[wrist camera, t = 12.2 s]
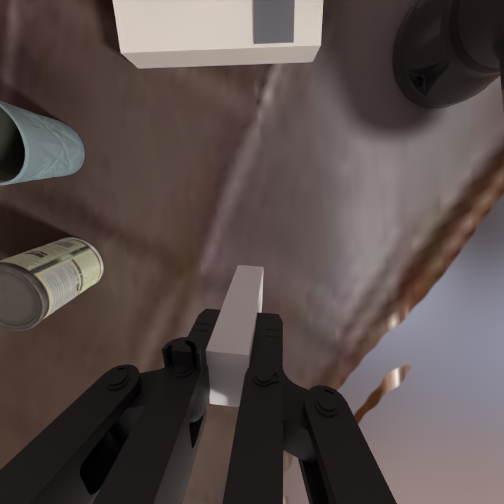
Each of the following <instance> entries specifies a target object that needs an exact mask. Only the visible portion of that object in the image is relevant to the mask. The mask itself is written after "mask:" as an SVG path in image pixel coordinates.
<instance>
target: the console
mask: <svg viewBox="0 0 504 504" xmlns="http://www.w3.org/2000/svg"><path fill="white" fill-rule="evenodd" d="M113 6H114V13H115V19H116V26H117V32H118V39H119V45H120V51H121V54H122V55H124V56H125V57H126V58H127V59H128V60H129V61H130V62H132V63H133V64H134V65H135V66H136V67H137V68H165V67H193V66H220V65H248V64H275V63H302V62H313V60H314V58H315V56H316V54H317V52H318V50H319V48H320V46H321V34H322V15H323V0H113Z"/></svg>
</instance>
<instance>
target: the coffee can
mask: <svg viewBox="0 0 504 504" xmlns="http://www.w3.org/2000/svg"><path fill="white" fill-rule="evenodd" d="M102 274H103V262H102V259H101V256H100V255H99V253H98V251H97V250H96V249H95V248H94V247H93V246H92V245H91V244H89V243H88V242H86V241H84V240H81V239H79V238H73V237H68V238H63V239H60V240H58V241H55V242H52V243H49V244H47V245H44V246H41V247H38V248H35V249H32V250H29V251H26V252H23V253H21V254H17V255H15V256H12V257H9V258H6V259H3V260H1V261H0V327H1V328H5V329H8V330H15V331H20V330H27V329H30V328H32V327H34V326H36V325H37V324H38V323H40V322H41V321H42V320H43V319H44V318H45V317H47V316H48V315H50V314H51V313H53V312H54V311H56V310H57V309H59V308H60V307H61V306H63V305H64V304H66V303H67V302H69V301H70V300H72V299H73V298H75V297H76V296H77V295H79V294H80V293H82V292H83V291H85V290H86V289H87V288H89V287H90V286H92V285H94V284H95V283H97V282H98V281H99V280H100V278H101V277H102Z"/></svg>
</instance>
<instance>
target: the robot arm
mask: <svg viewBox="0 0 504 504" xmlns="http://www.w3.org/2000/svg"><path fill="white" fill-rule="evenodd" d="M393 68H394V74H395V78H396V81H397V83H398V85H399V87H400V89H401V90H402V92H403V93H404V94H405V95H406V97H407V98H409V99H410V100H411V101H412V102H414V103H416V104H418V105H420V106H423V107H427V108H443V107H447V106H451V105H454V104H457V103H459V102H462V101H465V100H467V99H469V98H471V97H473V96H475V95H476V94H478V93H479V92H481V91H482V90H483V89H485V88H486V87H487V86H488V85H489V84H490V83H492V82H493V81H494V80H495V79H497V78H498V77H499V76H501V87H502V88H501V89H502V99H503V110H504V0H418V1H417V2H416V3H415V4H414V6H413V7H412V8H411V9H410V11H409V12H408V14H407V15H406V17H405V19H404V20H403V22H402V24H401V26H400V29H399V31H398V34H397V37H396V40H395V45H394V51H393ZM262 292H263V267H257V266H242V265H238V267H237V269H236V272H235V274H234V277H233V280H232V282H231V285H230V288H229V290H228V293H227V296H226V298H225V301H224V304H223V306H222V309H221V310H215V309H205V310H204V311H203V312H202V313H200V314H199V315H198V317H197V319H196V321H195V324H194V325H193V327H192V329H191V331H190V333H189V335H188V337H182V338H177V339H174V340H172V341H170V342H169V343H167V344H166V345H165V346H164V347H163V349H162V353H163V358H164V364H165V367H164V368H162V369H159V370H155V371H150V372H144V373H139V370H138V368H136V367H135V366H133V365H127V364H126V365H120V366H117V367H115V368H112V369H110V370H109V371H108V372H106V373H105V374H104V375H102V376H101V377H100V378H99V379H98V380H97V381H96V382H95V383H94V384H93V385H92V386H91V387H89V388H88V389H87V390H86V391H85V392H84V393H83V394H82V395H81V396H80V397H79V398H78V399H77V400H75V401H74V402H73V403H72V404H71V405H70V406H69V407H68V408H67V409H66V410H65V411H64V412H62V413H61V414H60V415H59V416H58V417H57V418H56V419H55V420H54V421H53V422H52V423H51V424H50V425H48V426H47V427H46V428H45V429H44V430H43V431H42V432H41V433H40V434H39V435H38V436H37V437H35V438H34V439H33V440H32V441H31V442H30V443H29V444H28V445H27V446H26V447H25V448H24V449H23V450H21V451H20V452H19V453H18V454H17V455H16V456H15V457H14V458H13V459H12V460H11V461H10V462H8V463H7V464H6V465H5V466H4V467H3V468H2V469H1V470H0V504H182V503H183V499H184V496H185V492H186V488H187V485H188V481H189V478H190V474H191V471H192V467H193V463H194V460H195V456H196V453H197V449H198V446H199V442H200V438H201V435H202V431H203V428H204V424H205V421H206V405H207V402H208V399H209V397H210V404H217V405H225V406H233V407H239V411H238V417H237V423H236V429H235V434H234V440H233V446H232V452H231V458H230V463H229V469H228V475H227V481H226V487H225V492H224V498H223V504H283V450H285V451H286V452H288V453H290V454H292V455H294V456H296V457H297V458H298V460H299V464H300V467H301V472H302V476H303V480H304V484H305V488H306V492H307V496H308V500H309V504H397V503H396V501H395V499H394V497H393V495H392V493H391V491H390V489H389V487H388V485H387V483H386V481H385V479H384V477H383V475H382V473H381V471H380V469H379V467H378V465H377V463H376V460H375V459H374V456H373V454H372V452H371V451H370V448H369V446H368V444H367V442H366V440H365V438H364V436H363V434H362V432H361V430H360V428H359V426H358V424H357V422H356V420H355V418H354V416H353V414H352V412H351V410H350V408H349V406H348V403H347V402H346V400H345V399H344V397H343V396H342V395H341V394H340V393H339V392H337V391H336V390H335V389H333V388H330V387H328V386H321V385H318V386H315V387H312V388H311V389H310V390H307V389H305V388H302V387H300V386H298V385H296V384H294V383H293V382H292V381H290V380H289V379H288V378H287V376H286V375H285V373H284V371H283V365H282V361H283V321H282V320H281V318H280V316H279V314H271V313H261V310H262Z"/></svg>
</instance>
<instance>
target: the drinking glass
mask: <svg viewBox="0 0 504 504" xmlns="http://www.w3.org/2000/svg"><path fill="white" fill-rule="evenodd" d="M84 155H85V153H84V147H83V143H82V141H81V139H80V137H79V136H78V135H77V133H76V132H75V131H74V130H73V129H72V128H71V127H70V126H68V125H67V124H65V123H63V122H61V121H58V120H55V119H51V118H48V117H46V116H42V115H37V114H35V113H33V112H30V111H28V110H25V109H22V108H19V107H16V106H13V105H10V104H8V103H5V102H2V101H0V185H7V184H13V183H19V182H25V181H29V180H36V179H37V180H38V179H44V178H51V177H52V176H53V177H59V176H66V175H71V174H73V173H75V172H77V171H78V170H79V169H80V168H81V166H82V164H83V162H84Z"/></svg>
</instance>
